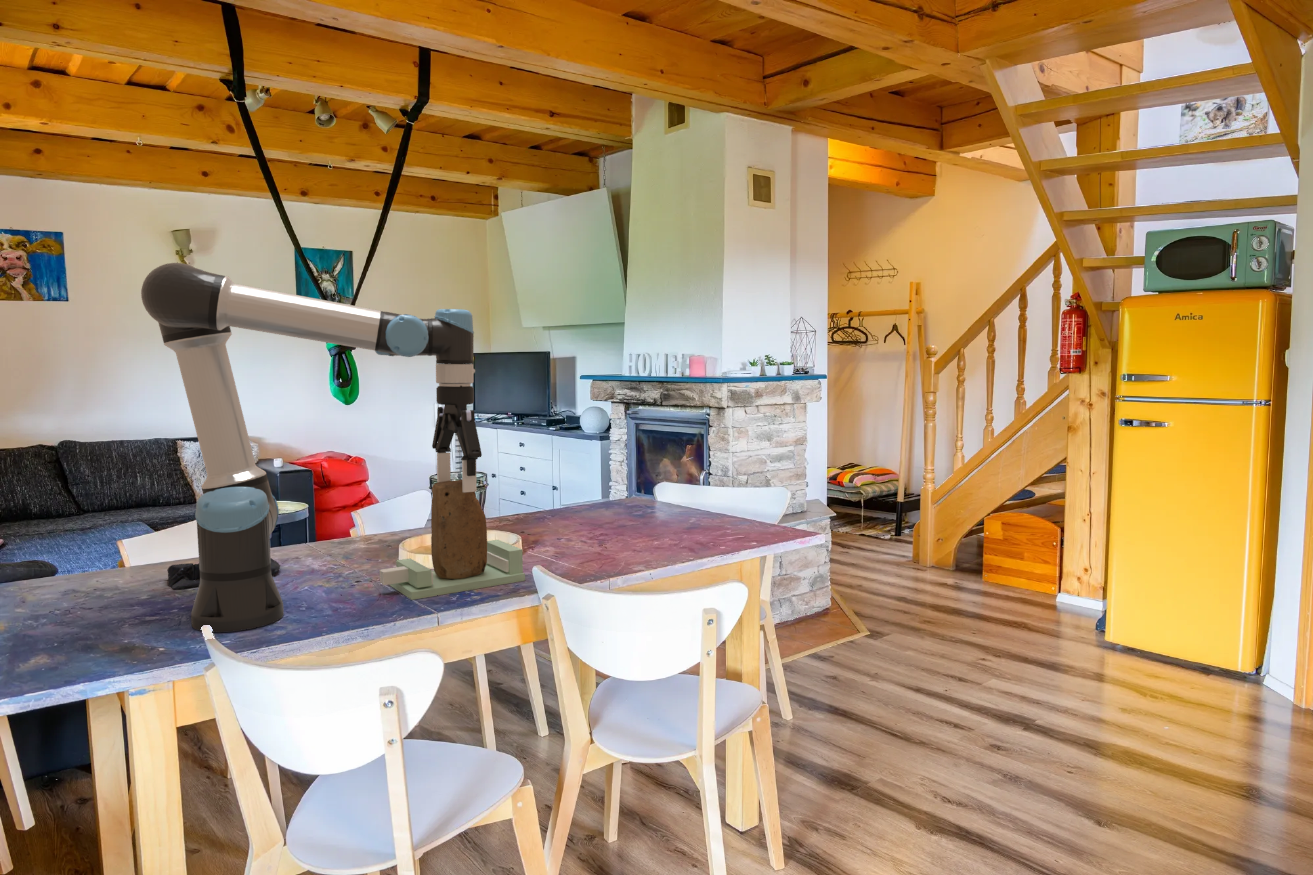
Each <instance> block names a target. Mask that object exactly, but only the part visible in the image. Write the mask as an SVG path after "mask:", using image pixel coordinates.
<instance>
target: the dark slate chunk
mask: <svg viewBox="0 0 1313 875" xmlns="http://www.w3.org/2000/svg"><path fill="white" fill-rule="evenodd" d="M280 569H281V565H280V563H279V562H277V561H276V560H274V559H273V558H272V557H271V574H272V575H274V574H277V573H278V572H279V570H280ZM167 579H168V580H167V583H168V586H169V587H171V589H173V590H174V591H175V590H176V591H177V590H185V589H189V588H190V589H191V588H199V585H200V569H199V563H195V564H194V563H192V562H190V563H178V564H171V565H170V566H168V568H167Z"/></svg>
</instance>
